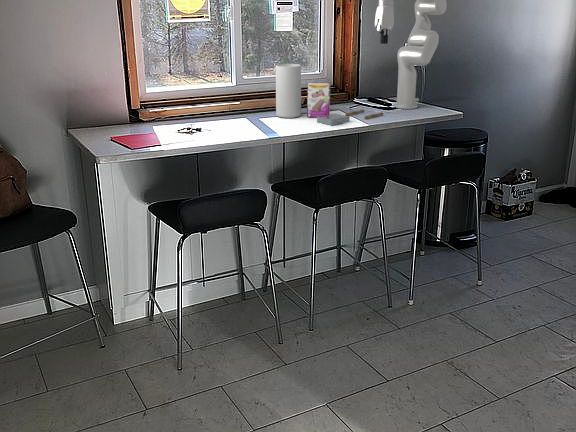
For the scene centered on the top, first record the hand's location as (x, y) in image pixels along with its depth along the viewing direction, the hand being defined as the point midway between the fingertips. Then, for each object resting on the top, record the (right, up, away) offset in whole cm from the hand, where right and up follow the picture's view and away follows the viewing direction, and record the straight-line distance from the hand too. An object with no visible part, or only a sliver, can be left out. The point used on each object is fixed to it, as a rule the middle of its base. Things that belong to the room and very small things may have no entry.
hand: (383, 43), depth 308 cm
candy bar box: (-32, -35, +8) cm, 48 cm away
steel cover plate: (-25, -39, -4) cm, 47 cm away
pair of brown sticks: (-8, -34, +10) cm, 36 cm away
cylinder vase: (-47, -34, +11) cm, 59 cm away
